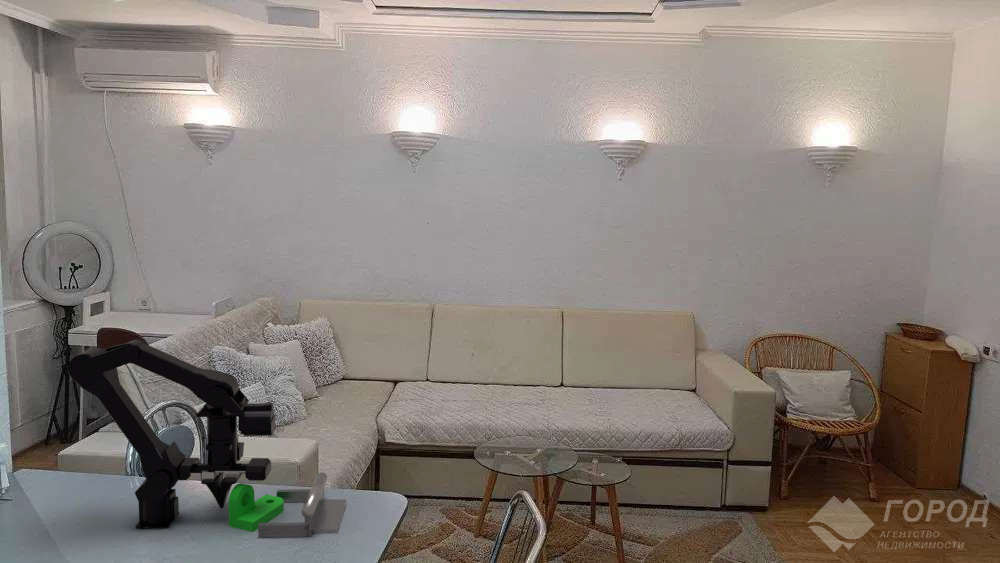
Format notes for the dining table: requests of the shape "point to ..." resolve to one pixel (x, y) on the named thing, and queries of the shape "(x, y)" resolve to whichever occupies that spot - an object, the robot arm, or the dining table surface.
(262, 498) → the mechanical part
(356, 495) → the dining table surface
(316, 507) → the bracket
